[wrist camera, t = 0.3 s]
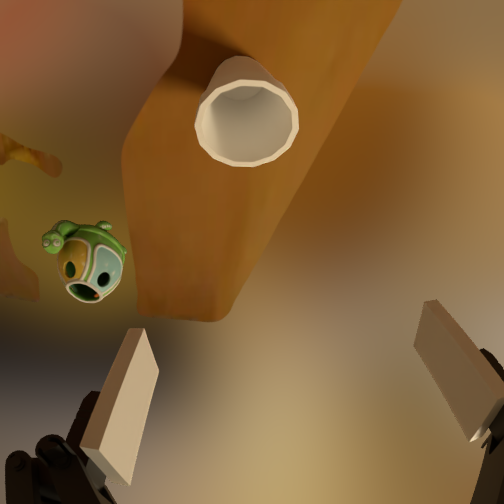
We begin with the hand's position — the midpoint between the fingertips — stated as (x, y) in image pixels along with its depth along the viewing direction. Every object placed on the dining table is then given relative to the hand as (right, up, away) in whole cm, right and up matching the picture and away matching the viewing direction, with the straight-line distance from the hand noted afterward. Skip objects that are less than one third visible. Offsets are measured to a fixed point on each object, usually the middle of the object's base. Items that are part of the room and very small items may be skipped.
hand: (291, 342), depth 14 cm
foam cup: (-3, +26, +21) cm, 33 cm away
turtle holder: (-32, +7, +41) cm, 53 cm away
